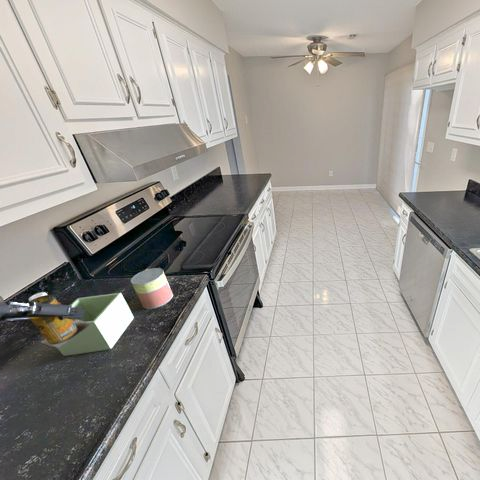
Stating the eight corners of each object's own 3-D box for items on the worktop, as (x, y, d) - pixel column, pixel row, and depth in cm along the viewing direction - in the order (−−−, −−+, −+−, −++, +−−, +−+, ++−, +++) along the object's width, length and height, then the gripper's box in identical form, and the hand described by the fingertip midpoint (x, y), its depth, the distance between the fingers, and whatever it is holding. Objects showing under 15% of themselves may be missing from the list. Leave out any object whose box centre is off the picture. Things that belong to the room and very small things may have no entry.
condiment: (40, 342, 66) (12, 307, 61) (76, 319, 73) (54, 286, 68) (58, 348, 64) (30, 312, 59) (93, 324, 71) (72, 290, 66)
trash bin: (63, 356, 82) (43, 329, 77) (93, 323, 95) (77, 298, 90) (111, 349, 83) (94, 322, 78) (134, 317, 96) (121, 292, 91)
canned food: (178, 296, 107) (168, 272, 101) (150, 312, 98) (138, 287, 93) (164, 288, 113) (155, 265, 107) (137, 302, 104) (125, 278, 99)
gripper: (-102, 338, 46) (29, 334, 68) (11, 324, 48) (103, 324, 70) (-87, 297, 49) (35, 305, 71) (20, 285, 50) (107, 297, 72)
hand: (69, 315), depth 70 cm, fingers closed on condiment, 6 cm apart
